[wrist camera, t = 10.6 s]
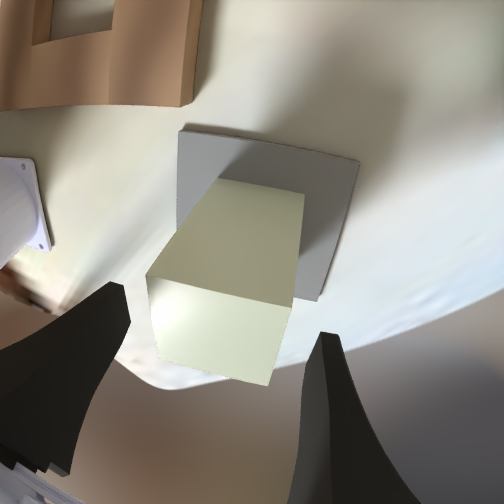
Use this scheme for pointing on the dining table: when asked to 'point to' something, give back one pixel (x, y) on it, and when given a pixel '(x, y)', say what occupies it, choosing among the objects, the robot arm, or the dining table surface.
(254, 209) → the sage block
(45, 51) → the pocket block
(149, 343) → the dining table surface
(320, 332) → the robot arm
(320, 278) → the rubber pad
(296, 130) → the dining table surface
